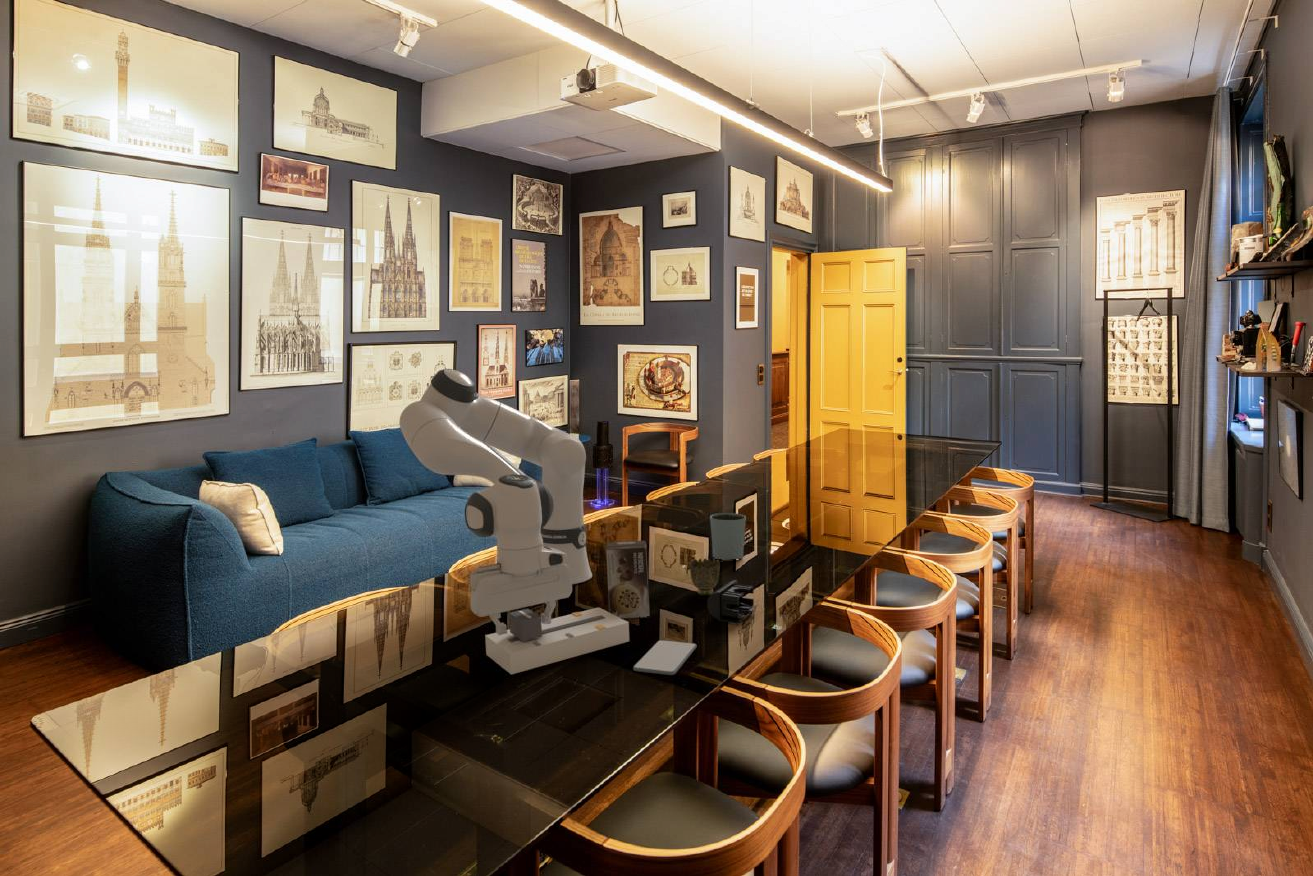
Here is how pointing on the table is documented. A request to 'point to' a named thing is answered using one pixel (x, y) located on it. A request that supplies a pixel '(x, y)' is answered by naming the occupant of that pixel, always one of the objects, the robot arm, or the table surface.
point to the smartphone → (665, 657)
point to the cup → (704, 575)
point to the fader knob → (525, 624)
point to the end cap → (731, 602)
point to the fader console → (558, 640)
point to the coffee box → (627, 579)
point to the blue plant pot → (727, 535)
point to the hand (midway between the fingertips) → (524, 628)
